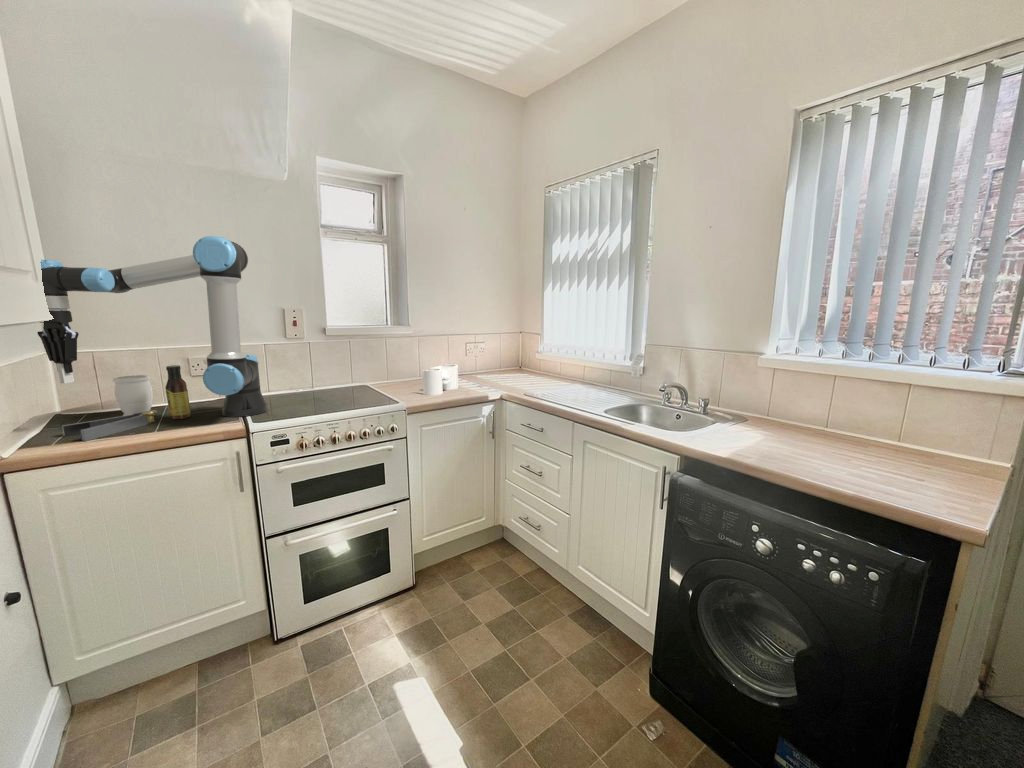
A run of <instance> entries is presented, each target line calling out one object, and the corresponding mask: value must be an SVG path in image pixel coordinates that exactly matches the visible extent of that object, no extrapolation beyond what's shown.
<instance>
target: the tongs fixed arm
mask: <svg viewBox="0 0 1024 768" xmlns="http://www.w3.org/2000/svg"><path fill="white" fill-rule="evenodd" d="M154 415H155V414H153V415H140V416H136V417H132V418H128V419H124V420H120V421H116V422H112V423H108V424H104V425H98V426H94V427H90V428H86V429H82V430H80V434H79V435H80V438H81V439H80V440H81V442H88V440H89V441H91V440H95V439H99V437H100V438H102V437H106V436H110V435H114V434H117V433H120V432H121V433H122V432H125V431H128V430H131V429H135V428H136V429H137V428H140V427H144V426H147V425H149V424H151V423H155V417H154Z"/></svg>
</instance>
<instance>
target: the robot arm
mask: <svg viewBox="0 0 1024 768" xmlns="http://www.w3.org/2000/svg"><path fill="white" fill-rule="evenodd" d="M40 263H41V270H42V282H43V286H44V293H45V297H46V302H47V305H48V309H49V312H50V314H51V315H52V316H53V318H54V319H52V320H49V321H44V322H39V323H40V324H41V323H42V324H43V326H42V329H43V330H41V331H37V336H38V337H39V338H40V340H41V343H42V345H43V348H44V350H45V353H46V355H47V358H48V361H49V362H54V363H55V365H56V369H57V370H56V371H57V373H58V378H59V383H60V384H69V383H70V384H71V383H75V379H74V378H75V377H74V370H73V369H74V368H73V365H72V363H73V362H77V360H78V338H79V332H78V331H73V330H71V329H72V328H71V326H70V324H69V323H72V322H73V316H72V312H71V310H70V309H71V307H70V306H71V305H70V301H69V296H68V295H69V294H68V292H82V293H84V292H87V293H90V292H91V293H92V292H93V293H109V294H110V293H112V294H123V293H124V294H125V293H128V292H130V291H131V290H132V291H133V290H136V289H141V288H142V289H143V288H147V287H151V286H157V285H162V284H168V283H172V282H173V283H174V282H177V281H179V282H180V281H182V280H183V281H184V280H188V279H195V278H198V277H200V278H201V279H202V280H203V281H205V284H206V295H207V308H208V309H207V310H208V311H207V312H208V320H209V333H210V334H209V335H210V346H211V347H210V351H211V352H210V353H209V354H208V355H207V356H206V366H207V368H206V369H205V370H204V372H203V375H202V382H203V384H204V386H205V388H206V389H207V390H208V391H210V392H211V393H213V394H215V395H217V396H218V395H219V396H225V397H224V403H223V407H222V408H221V411H222V416H223V417H228V418H240V417H248V416H250V417H251V416H255V415H259V414H263V413H265V412H268V404H267V402H266V401H265V398H264V396H263V394H262V391H261V383H260V373H259V371H260V370H259V361H258V357H257V356H256V355H254V354H244V353H243V352H242V351H241V350H242V348H241V335H240V321H239V304H238V303H239V302H238V286H237V285H238V283H240V281H241V280H242V272H243V271H244V270H246V268H247V266H248V263H249V258H248V254H247V252H246V250H245V249H244V247H242V246H241V245H240V244H238V243H237V242H234V241H232V240H229V239H227V238H225V237H223V236H217V235H206V236H203V237H201V238H200V239H198V240H197V241H196V242H195V244H194V245H193V247H192V254H191V255H186V256H181V257H175V258H169V259H165V260H158V261H152V262H148V263H143V264H136V265H131V266H126V267H122V268H114V269H106V268H102V267H70V266H69V267H68V266H64V265H63V263H62V262H61V261H60V260H56V259H54V260H53V259H41V262H40Z"/></svg>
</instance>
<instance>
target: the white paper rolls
mask: <svg viewBox="0 0 1024 768" xmlns="http://www.w3.org/2000/svg"><path fill="white" fill-rule="evenodd" d="M421 373H422V393H423V394H422V395H426V396H440V395H443V393H444V391H445V390H446V391H453V390H457V389H459V365H458V364H455V363H453V364H452V363H450V364H449V363H444V364H443V366H442V365H437V366H435V367H434V366H433V367H429V368H428V369H422V371H421ZM443 390H444V391H443Z"/></svg>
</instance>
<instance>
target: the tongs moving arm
mask: <svg viewBox="0 0 1024 768" xmlns="http://www.w3.org/2000/svg"><path fill="white" fill-rule="evenodd" d="M157 413H158V411H157V410H155V409H153V410H152V409H150V411H144V412H139V413H133V414H132V415H126V416H123V415H121V416H114V417H107V418H103V419H95V420H89V421H82V422H75V423H69V424H63V425H61V427H62V428H61V429H62V433H63V434H62V435H63V437H65V438H67V437H72V436H77V435H80V430H82V429H86V428H90V427H94V426H98V425H104V424H108V423H112V422H116V421H120V420H124V419H128V418H132V417H136V416H140V415H157Z"/></svg>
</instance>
